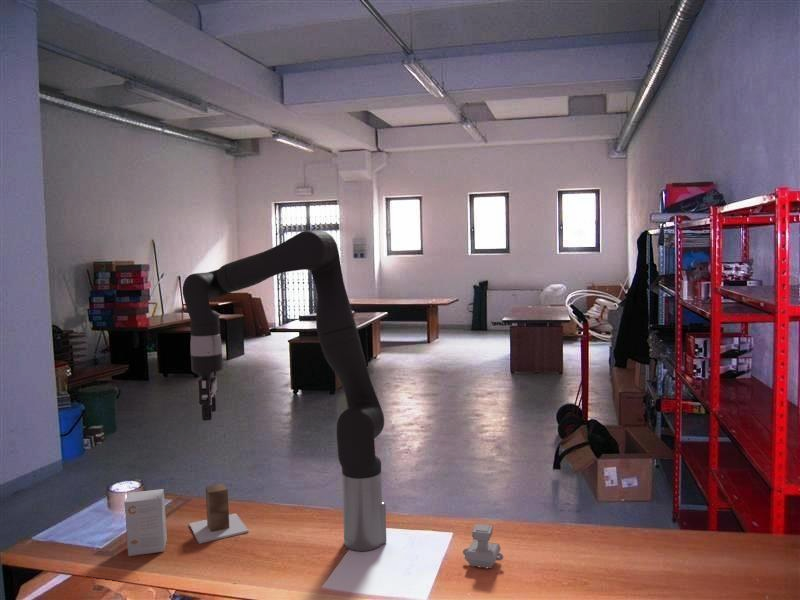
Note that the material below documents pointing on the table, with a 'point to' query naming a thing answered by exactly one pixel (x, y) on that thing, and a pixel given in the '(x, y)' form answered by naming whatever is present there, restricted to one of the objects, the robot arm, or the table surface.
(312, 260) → the robot arm
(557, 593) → the table surface
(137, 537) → the small box
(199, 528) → the grey mat
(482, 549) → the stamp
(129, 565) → the table surface
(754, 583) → the table surface
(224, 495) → the walnut block
